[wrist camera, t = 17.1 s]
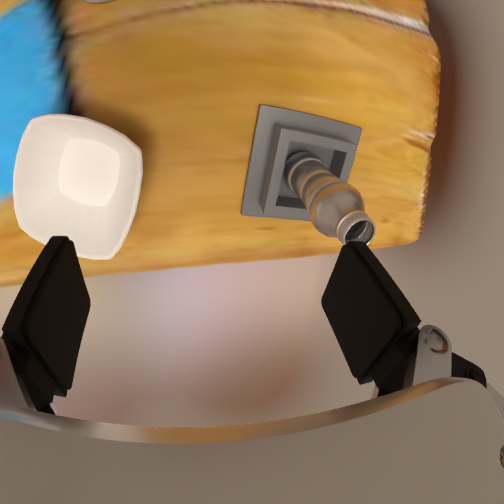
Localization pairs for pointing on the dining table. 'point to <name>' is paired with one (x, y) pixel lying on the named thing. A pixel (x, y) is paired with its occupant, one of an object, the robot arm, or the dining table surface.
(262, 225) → the dining table surface
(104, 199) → the bowl
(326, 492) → the robot arm
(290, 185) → the plastic bottle
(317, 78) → the dining table surface
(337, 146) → the gray square tray
